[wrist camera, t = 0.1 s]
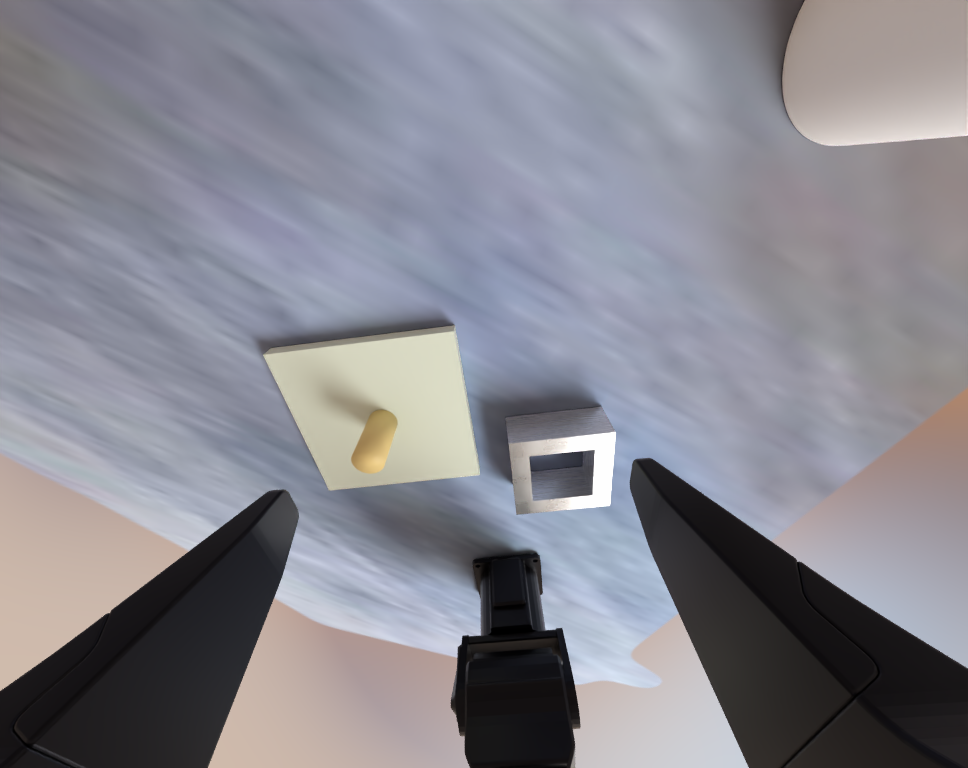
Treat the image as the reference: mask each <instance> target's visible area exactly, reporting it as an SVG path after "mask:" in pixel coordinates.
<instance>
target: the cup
mask: <svg viewBox="0 0 968 768" xmlns="http://www.w3.org/2000/svg"><path fill="white" fill-rule="evenodd" d="M782 88H783V97H784V103H785V107H786V110H787V113H788V116H789V118H790V120H791V121H792V123H793V125H794V126H795V127H796V129H797V130H798V131H799V132H800V133H801V134H802V135H803V136H805V137H806V138H808V139H809V140H811V141H813V142H816V143H819V144H822V145H828V146H846V145H858V144H870V143H883V142H895V141H908V140H920V139H932V138H945V137H957V136H968V0H805V1H804V3H803V5H802V7H801V9H800V11H799V13H798V16H797V18H796V20H795V23H794V26H793V29H792V31H791V34H790V38H789V41H788V45H787V48H786V53H785V58H784V65H783V76H782Z"/></svg>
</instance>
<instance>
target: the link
mask: <svg viewBox="0 0 968 768" xmlns="http://www.w3.org/2000/svg"><path fill="white" fill-rule="evenodd" d="M505 418H506V427H507V435H508V444H509V453H510V461H511V470H512V479H513V488H514V496H515V505H516V513H517V515H518V514H528V513H539V512H549V511H559V510H570V509H580V508H590V507H601V506H610V496H611V483H612V471H613V459H614V447H615V434H616V432H615V430H614V428H613V426H612V425H611V423H610V421H609V419H608V417H607V415H606V413H605V412H604V410H603V408H602V406H601V407H592V408H583V409H574V410H565V411H556V412H546V413H537V414H528V415H519V416H510V417H505ZM577 451H583V459H582V466H581V467H571V468H561V469H552V470H542V471H532V472H531V471H530V459H529V456H539V455H548V454H558V453H567V452H577Z"/></svg>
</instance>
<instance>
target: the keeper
mask: <svg viewBox="0 0 968 768" xmlns="http://www.w3.org/2000/svg"><path fill="white" fill-rule="evenodd" d="M263 356H264V358H265V360H266V362H267V364H268V366H269V368H270V370H271V372H272V374H273V376H274V378H275V380H276V382H277V384H278V386H279V389H280V391H281V393H282V395H283V397H284V399H285V401H286V403H287V405H288V407H289V409H290V411H291V413H292V415H293V417H294V419H295V421H296V423H297V425H298V427H299V429H300V432H301V434H302V436H303V438H304V440H305V442H306V444H307V446H308V448H309V450H310V452H311V454H312V456H313V458H314V460H315V462H316V464H317V466H318V468H319V470H320V472H321V474H322V477H323V479H324V481H325V483H326V485H327V487H328V489H329V491H330V490H339V489H349V488H359V487H369V486H378V485H388V484H398V483H407V482H417V481H427V480H436V479H446V478H456V477H466V476H475V475H480V466H479V460H478V454H477V449H476V443H475V437H474V432H473V426H472V420H471V415H470V409H469V403H468V398H467V392H466V386H465V380H464V375H463V369H462V363H461V358H460V352H459V346H458V341H457V335H456V329H455V325H453V326H445V327H437V328H429V329H421V330H413V331H405V332H397V333H389V334H380V335H372V336H364V337H356V338H348V339H340V340H332V341H324V342H316V343H308V344H300V345H292V346H284V347H276V348H271V349H269V350H268V351H267V352H266V353H265V354H263Z"/></svg>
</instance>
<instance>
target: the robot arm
mask: <svg viewBox="0 0 968 768" xmlns="http://www.w3.org/2000/svg"><path fill="white" fill-rule="evenodd" d="M630 490H631V493H632V496H633V500H634V503H635V506H636V509H637V512H638V515H639V518H640V521H641V524H642V527H643V530H644V533H645V536H646V539H647V542H648V545H649V548H650V550H651V553H652V555H653V557H654V560H655V562H656V564H657V566H658V568H659V571H660V573H661V575H662V577H663V579H664V582H665V584H666V586H667V588H668V590H669V593H670V595H671V597H672V599H673V601H674V604H675V606H676V608H677V610H678V612H679V615H680V617H681V619H682V621H683V623H684V626H685V628H686V630H687V632H688V634H689V636H690V639H691V641H692V643H693V645H694V648H695V650H696V652H697V654H698V656H699V659H700V661H701V663H702V665H703V668H704V670H705V672H706V674H707V676H708V679H709V681H710V683H711V685H712V687H713V690H714V692H715V694H716V696H717V698H718V701H719V703H720V705H721V707H722V709H723V711H724V714H725V716H726V718H727V720H728V723H729V725H730V727H731V729H732V731H733V734H734V736H735V738H736V740H737V742H738V745H739V747H740V749H741V751H742V753H743V756H744V758H745V760H746V762H747V764H748V767H749V768H968V668H966V667H964V666H963V665H961V664H959V663H958V662H956V661H955V660H953V659H951V658H950V657H948V656H946V655H945V654H943V653H942V652H940V651H938V650H937V649H935V648H933V647H932V646H930V645H929V644H927V643H925V642H924V641H922V640H920V639H919V638H917V637H915V636H914V635H912V634H911V633H909V632H907V631H906V630H904V629H902V628H901V627H899V626H898V625H896V624H894V623H893V622H891V621H890V620H888V619H886V618H885V617H883V616H882V615H880V614H878V613H877V612H875V611H874V610H872V609H871V608H869V607H867V606H866V605H864V604H862V603H861V602H859V601H858V600H856V599H855V598H853V597H852V596H850V595H849V594H847V593H846V592H844V591H843V590H841V589H840V588H838V587H837V586H835V585H834V584H832V583H831V582H829V581H828V580H826V579H825V578H823V577H822V576H820V575H819V574H818V573H816V572H814V571H813V570H812V569H810V568H809V567H808V566H806V565H805V564H803V563H802V562H797V560H796V558H794V557H793V556H791V555H790V554H789V553H787V552H786V551H784V550H783V549H781V548H780V547H779V546H777V545H775V544H774V543H773V542H771V541H770V540H768V539H767V538H766V537H764V536H763V535H761V534H760V533H758V532H757V531H756V530H754V529H753V528H751V527H750V526H748V525H747V524H745V523H744V522H743V521H741V520H740V519H738V518H737V517H735V516H734V515H732V514H731V513H730V512H728V511H727V510H725V509H724V508H722V507H721V506H720V505H718V504H717V503H715V502H714V501H712V500H711V499H709V498H708V497H707V496H705V495H704V494H702V493H701V492H699V491H698V490H697V489H695V488H694V487H692V486H691V485H689V484H688V483H686V482H685V481H684V480H682V479H681V478H679V477H678V476H676V475H675V474H673V473H672V472H671V471H669V470H668V469H666V468H665V467H663V466H662V465H661V464H659V463H658V462H656V461H655V460H653V459H651V458H642V459H635V460H634V461H633V464H632V470H631V477H630ZM298 518H299V513H298V509H297V507H296V505H295V503H294V502H293V500H292V498H291V496H290V494H289V492H288V491H286V490H272V491H269V492H267V493H265V494H264V495H263V496H262V497H260V498H259V499H258V500H256V501H255V502H254V503H252V504H251V505H250V506H248V507H247V508H246V509H244V510H243V511H242V512H240V513H239V514H238V515H236V516H235V517H234V518H232V519H231V520H230V521H229V522H227V523H226V524H225V525H223V526H222V527H221V528H219V529H218V530H217V531H215V532H214V533H213V534H211V535H210V536H209V537H207V538H206V539H205V540H203V541H202V542H201V543H199V544H198V545H197V546H196V547H194V548H193V549H192V550H190V551H189V552H188V553H186V554H185V555H184V556H182V557H181V558H180V559H178V560H177V561H176V562H175V563H173V564H172V565H170V566H169V567H168V568H166V569H165V570H164V571H163V572H161V573H160V574H159V575H157V576H156V577H155V578H153V579H152V580H151V581H149V582H148V583H147V584H145V585H144V586H143V587H141V588H140V589H139V590H137V591H136V592H135V593H134V594H132V595H131V596H129V597H128V598H127V599H125V600H124V601H123V602H122V603H120V604H119V605H118V606H116V607H115V608H114V609H112V610H111V612H110V613H108V614H106V615H104V616H103V617H102V618H100V619H99V620H98V621H97V622H95V623H94V624H92V625H91V626H90V627H89V628H87V629H86V630H85V631H83V632H82V633H80V634H79V635H78V636H77V637H75V638H74V639H72V640H71V641H70V642H68V643H67V644H66V645H64V646H63V647H62V648H60V649H59V650H58V651H56V652H55V653H54V654H52V655H51V656H49V657H48V658H46V659H45V660H44V661H42V662H41V663H40V664H38V665H37V666H36V667H34V668H32V669H31V670H30V671H28V672H27V673H25V674H24V675H22V676H21V677H20V678H19V679H17V680H15V681H14V682H13V683H11V684H10V685H9V686H7V687H6V688H4V689H3V690H1V691H0V768H208V766H209V763H210V761H211V758H212V755H213V753H214V750H215V748H216V745H217V742H218V740H219V738H220V735H221V732H222V730H223V727H224V725H225V722H226V719H227V717H228V714H229V712H230V709H231V707H232V704H233V702H234V699H235V696H236V694H237V691H238V689H239V686H240V684H241V681H242V678H243V676H244V673H245V671H246V668H247V666H248V663H249V661H250V658H251V655H252V653H253V650H254V648H255V645H256V643H257V640H258V638H259V635H260V632H261V630H262V627H263V625H264V622H265V620H266V617H267V614H268V612H269V609H270V606H271V604H272V602H273V599H274V597H275V594H276V591H277V589H278V586H279V583H280V581H281V578H282V575H283V572H284V569H285V565H286V562H287V558H288V555H289V551H290V547H291V544H292V540H293V537H294V533H295V530H296V526H297V523H298ZM473 569H474V574H475V578H476V582H477V586H478V591H479V595H480V598H481V636H469V635H466V636H462V645H460V646H459V647H458V658H457V659H458V660H457V671H456V677H455V682H454V687H453V692H452V697H451V708H452V710H453V712H454V713H455V714H456V717H457V722H458V728H459V733H460V736H465V755H466V759H467V761H468V764H469V766H470V768H575V741H574V735H573V729H578V728H580V716H579V708H578V702H577V696H576V690H575V684H574V679H573V675H572V670H571V666H570V661H569V657H568V652H567V648H566V643H565V639H564V634H563V630H562V628H556V630H545V624H544V617H543V611H542V604H541V597H540V595H542V593H543V590H542V576H541V562H540V556H539V555H538V554H528V555H517V556H506V557H495V558H484V559H476V560H474V561H473Z"/></svg>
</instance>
